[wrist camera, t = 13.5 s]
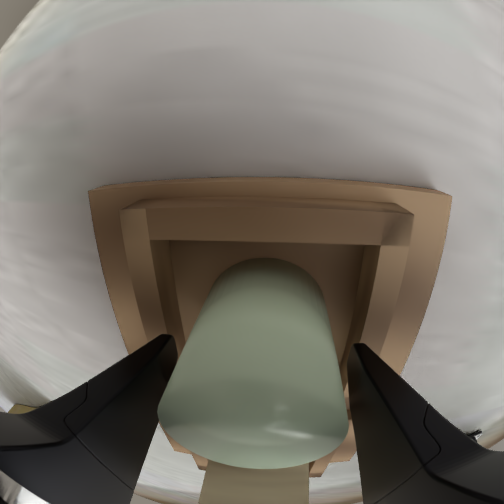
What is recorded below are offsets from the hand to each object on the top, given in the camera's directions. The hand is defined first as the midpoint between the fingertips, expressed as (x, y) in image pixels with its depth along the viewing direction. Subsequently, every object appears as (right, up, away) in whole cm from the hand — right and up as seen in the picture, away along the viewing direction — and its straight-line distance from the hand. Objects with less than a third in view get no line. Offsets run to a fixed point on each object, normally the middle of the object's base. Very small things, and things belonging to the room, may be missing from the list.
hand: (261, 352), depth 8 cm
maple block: (0, -8, +6) cm, 10 cm away
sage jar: (0, +1, +2) cm, 2 cm away
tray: (0, -3, +5) cm, 6 cm away
